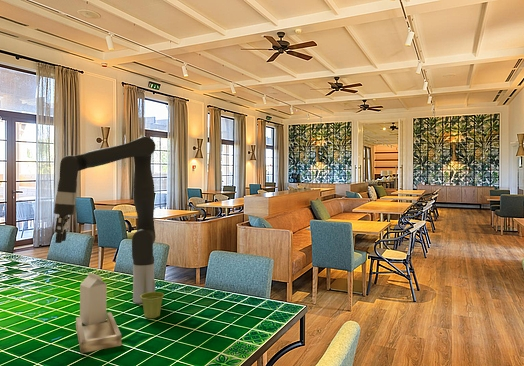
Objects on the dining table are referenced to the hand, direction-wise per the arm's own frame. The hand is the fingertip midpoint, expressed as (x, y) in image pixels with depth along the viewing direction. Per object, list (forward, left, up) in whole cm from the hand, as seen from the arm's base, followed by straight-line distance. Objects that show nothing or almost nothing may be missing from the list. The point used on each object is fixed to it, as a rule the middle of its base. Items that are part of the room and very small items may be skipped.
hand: (60, 241), depth 161 cm
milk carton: (-11, +17, -30) cm, 36 cm away
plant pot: (-33, +21, -30) cm, 49 cm away
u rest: (-11, +31, -30) cm, 44 cm away
